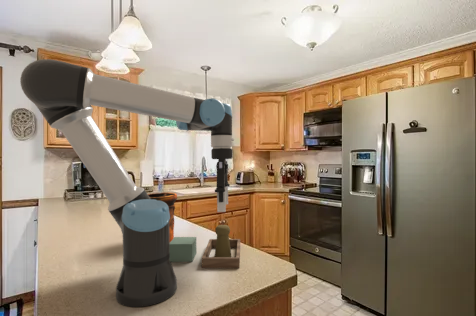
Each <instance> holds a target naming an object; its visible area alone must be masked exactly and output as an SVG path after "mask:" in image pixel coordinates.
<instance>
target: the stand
mask: <svg viewBox="0 0 476 316" xmlns="http://www.w3.org/2000/svg"><path fill="white" fill-rule="evenodd" d="M196 256H197V236H175V237H174V238H173V240H172V241H171V242H170V262H171V263H174V262H175V263H181V262H183V263H186V262H187V263H188V262H189V263H191V262H193V261H194V259H195V257H196Z"/></svg>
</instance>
